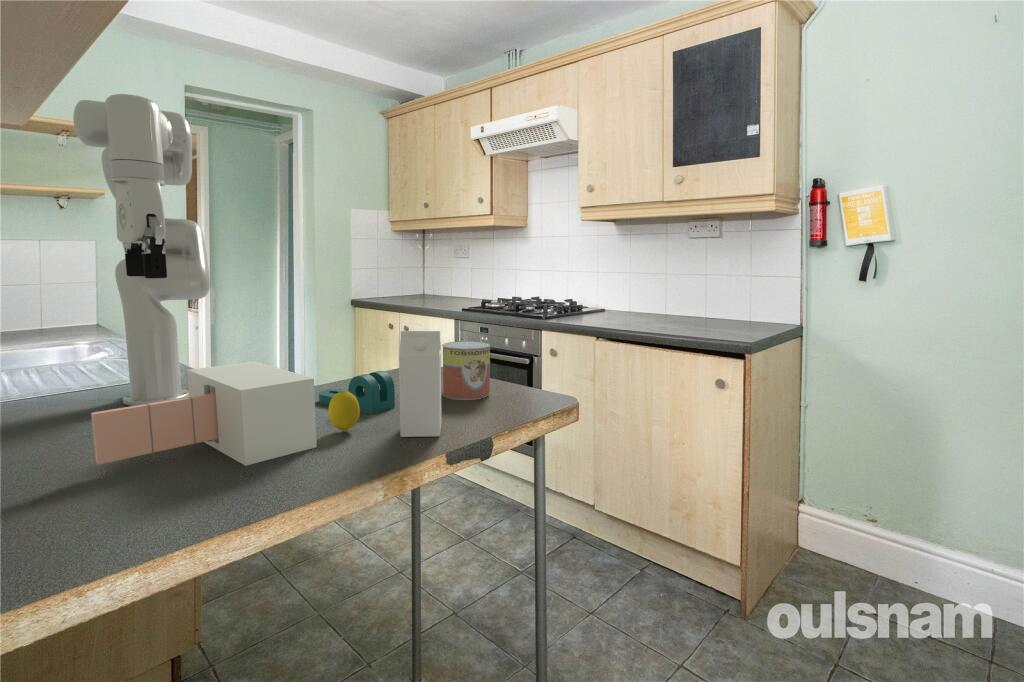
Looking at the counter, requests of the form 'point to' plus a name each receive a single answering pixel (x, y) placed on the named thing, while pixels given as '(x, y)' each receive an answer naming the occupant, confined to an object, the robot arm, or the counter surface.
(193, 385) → the ticket dispenser
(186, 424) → the strip
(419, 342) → the milk carton
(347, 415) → the lemon
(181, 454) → the counter surface
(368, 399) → the bracket
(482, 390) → the canned food
